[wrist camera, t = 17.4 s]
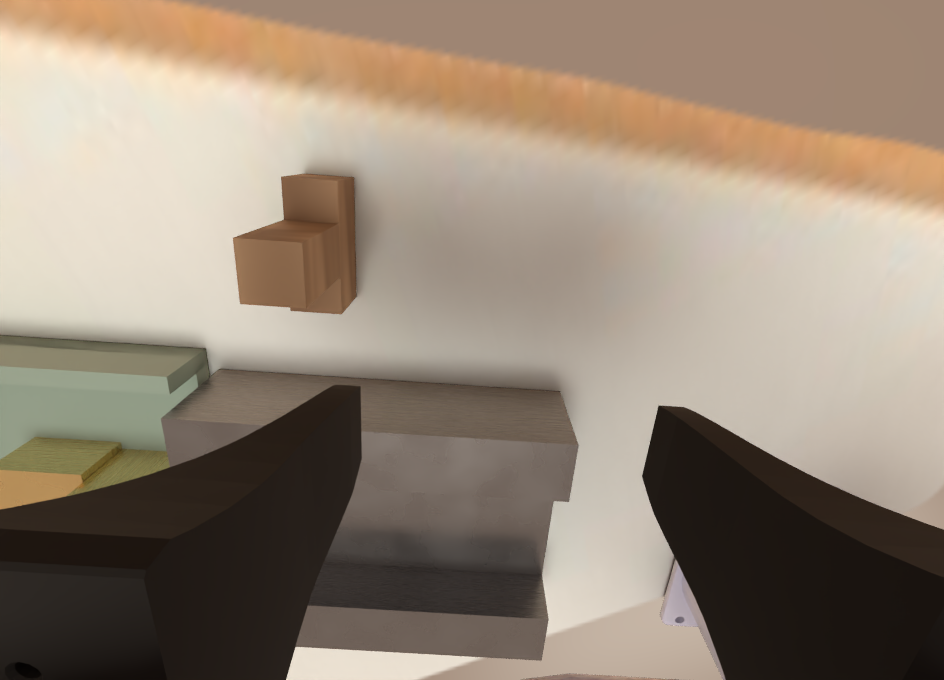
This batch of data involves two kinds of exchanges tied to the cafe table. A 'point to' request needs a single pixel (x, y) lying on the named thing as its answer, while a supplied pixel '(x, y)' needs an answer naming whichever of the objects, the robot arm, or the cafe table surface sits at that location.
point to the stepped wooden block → (303, 249)
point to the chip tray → (92, 390)
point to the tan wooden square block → (50, 468)
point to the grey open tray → (418, 508)
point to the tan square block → (124, 469)
